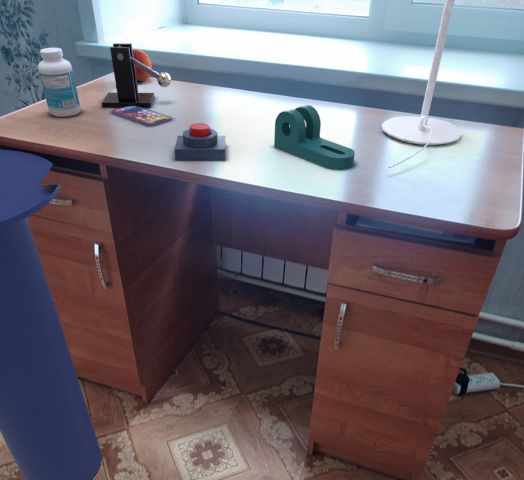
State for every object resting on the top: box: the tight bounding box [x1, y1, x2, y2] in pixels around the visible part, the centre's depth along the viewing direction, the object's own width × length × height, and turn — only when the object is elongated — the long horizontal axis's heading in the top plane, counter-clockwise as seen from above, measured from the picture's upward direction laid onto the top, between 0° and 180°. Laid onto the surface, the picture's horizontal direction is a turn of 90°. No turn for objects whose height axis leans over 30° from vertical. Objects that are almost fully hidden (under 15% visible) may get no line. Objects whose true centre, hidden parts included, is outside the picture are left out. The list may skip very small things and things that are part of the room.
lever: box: [118, 45, 172, 88], centre depth 125 cm, size 14×3×3 cm, turn 93°
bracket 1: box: [101, 42, 155, 109], centre depth 126 cm, size 12×9×13 cm
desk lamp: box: [381, 0, 463, 169], centre depth 95 cm, size 37×18×45 cm, turn 169°
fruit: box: [132, 49, 153, 82], centre depth 143 cm, size 8×8×8 cm
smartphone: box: [111, 106, 173, 127], centre depth 122 cm, size 1×7×15 cm
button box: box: [174, 128, 226, 161], centre depth 103 cm, size 10×8×4 cm
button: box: [189, 122, 211, 137], centre depth 102 cm, size 4×4×2 cm
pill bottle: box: [37, 47, 82, 118], centre depth 118 cm, size 8×7×14 cm
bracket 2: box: [273, 104, 356, 171], centre depth 103 cm, size 18×7×8 cm, turn 43°
